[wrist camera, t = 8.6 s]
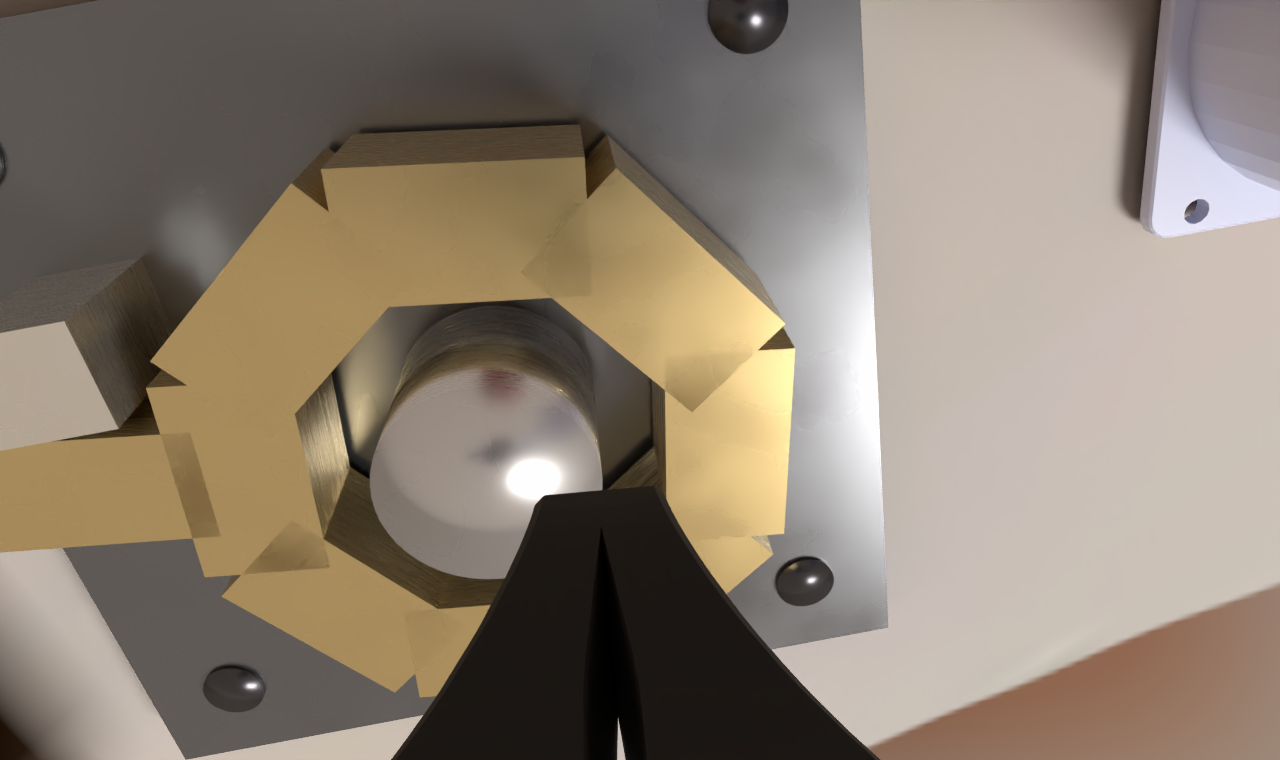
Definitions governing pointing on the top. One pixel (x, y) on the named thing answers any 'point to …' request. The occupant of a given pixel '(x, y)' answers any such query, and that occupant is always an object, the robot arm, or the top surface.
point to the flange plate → (441, 333)
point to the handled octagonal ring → (340, 316)
